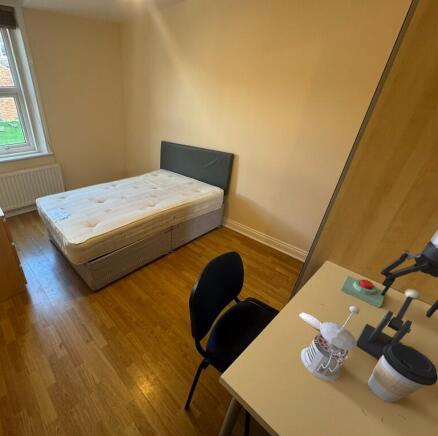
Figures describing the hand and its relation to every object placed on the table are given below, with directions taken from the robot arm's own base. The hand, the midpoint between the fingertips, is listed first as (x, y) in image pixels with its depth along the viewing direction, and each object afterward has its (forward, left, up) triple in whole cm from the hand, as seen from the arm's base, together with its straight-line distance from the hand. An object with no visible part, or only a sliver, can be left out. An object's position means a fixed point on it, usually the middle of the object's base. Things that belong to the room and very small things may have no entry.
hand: (404, 303), depth 74 cm
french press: (+32, +8, -12) cm, 36 cm away
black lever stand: (+9, +5, -12) cm, 16 cm away
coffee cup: (+20, +16, -12) cm, 29 cm away
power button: (-6, -15, -8) cm, 18 cm away
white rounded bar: (+24, -4, -12) cm, 28 cm away
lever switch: (+4, +2, 0) cm, 5 cm away
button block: (-6, -15, -12) cm, 20 cm away
